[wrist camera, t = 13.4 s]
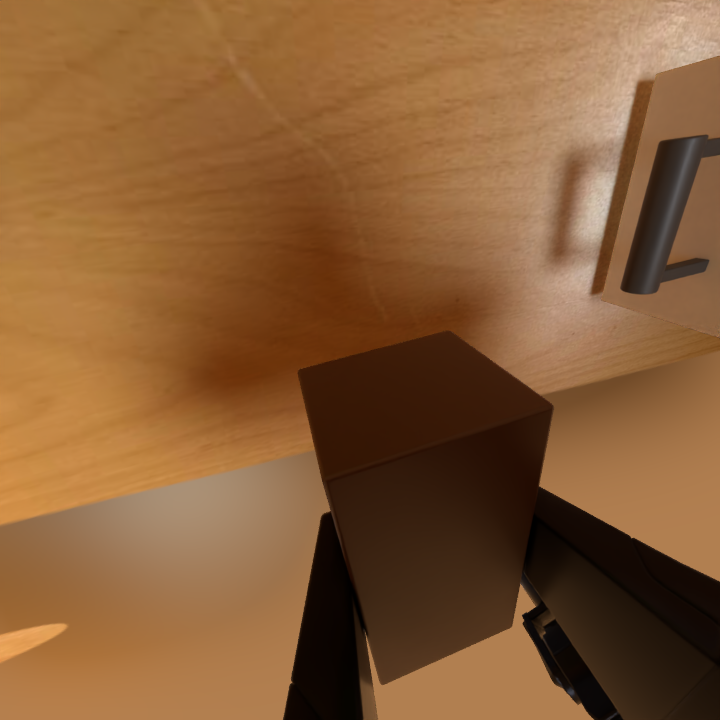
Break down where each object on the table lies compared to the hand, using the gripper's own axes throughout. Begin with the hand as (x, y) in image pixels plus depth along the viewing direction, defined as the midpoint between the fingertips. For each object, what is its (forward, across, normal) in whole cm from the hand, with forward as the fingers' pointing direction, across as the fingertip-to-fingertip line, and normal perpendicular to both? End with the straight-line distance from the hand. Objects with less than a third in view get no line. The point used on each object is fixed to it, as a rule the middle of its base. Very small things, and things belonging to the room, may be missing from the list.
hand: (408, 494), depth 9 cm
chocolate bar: (+1, 0, 0) cm, 1 cm away
